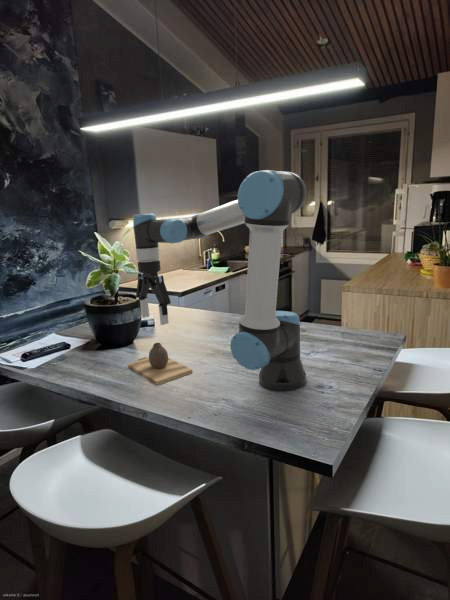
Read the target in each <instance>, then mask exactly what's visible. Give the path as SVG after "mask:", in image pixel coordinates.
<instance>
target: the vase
mask: <svg viewBox="0 0 450 600" xmlns="http://www.w3.org/2000/svg"><path fill="white" fill-rule="evenodd" d="M148 358H149V362H150V364H151V366H152V367H153V368H155V369H161V368H164V367H165V366H166V365H167V362H168V358H169V354H168V351H167V350H166V349H165V347H164V346H163V345H162V343H160V342H155V343H154V344H153V345H152V348H151V349H150V351H149V353H148Z"/></svg>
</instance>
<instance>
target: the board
mask: <svg viewBox="0 0 450 600" xmlns="http://www.w3.org/2000/svg"><path fill="white" fill-rule="evenodd" d="M127 368H129V369H130V370H132V371H134V372H136V374H138V375H140V376H142V377H143V378H145V379H146V380H149V381H150V382H152V383H153V384H155V385H156V386H160V385H163V384H164V383H168V382H171V381H173V380H175V379H179V378H181V377H184V376H188V375H191V374H193V369H192V368H190V367H189V366H188V367H187V366H186V365H183V364H182V363H179V362H178V361H175V360H174V359H172V358H170V357H168V362H167V365H166V366H165V367H164V368H161V369H155V368H153V367H152V366H151V364H150V362H149V357H145V356H144V357H142V358H138V360H137V361H134V362H130V363H128V364H127Z"/></svg>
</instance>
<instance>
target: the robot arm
mask: <svg viewBox="0 0 450 600" xmlns="http://www.w3.org/2000/svg"><path fill="white" fill-rule="evenodd" d="M306 197H307V186H306V184H305V182H304V180H303V179H302V178H301V177H300V176H299V175H298V174H297V173H294V172H291V171H278V170H269V169H266V170H258V171H253V172H251V173H250V174H248V175H247V176H246V177H245V178H244V179H243V181H242V182H241V184H240V186H239V188H238V192H237V199H236V200H232V201H229V202H227V203H224V204H222V205H219V206H217V207H214V208H211V209H208V210H206V211H203V212H200V213H198V214H195V215H192V216H186V217H175V218H162V219H157V218H156V217H157V216H156V215H155V213H141V214H134V215H133V218H132V220H133V221H132V222H133V227H132V228H133V233H134V234H133V235H134V241H135V252H136V259H137V260H136V261H138V262H137V270H138V271H137V272H138V273H137V285H136V286H137V287H136V293H135V297H136V298H138V299H139V305H140V313H141V319H145V318H148V317H150V311H149V309H150V308H149V299H148V294H149V291H150V290H152V291H153V293H154V295H155V297H156V299H157V302H158V303H159V304H158V312H159V321H160V325H161V326H163V325H168V324H170V323H169V322H170V321H169V314H168V313H169V312H168V305H169V304H171V298H170V296H169V292H168V290H167V287H166V284H165V280H164V276H163V275H159V274H158V272H160V271H161V270H162V269H161V268H162V267H161V261H160V260H159V259H160V249H159V244H163V243H164V244H177V243H182V242H185V241H189V240H198V239H202V238H206V237H207V236H208V235H210V234H211V235H212V234H214V233H217V232H221V231H224V230H226V229H227V230H228V229H231V228H234V227H237V226H240V225H243V224H244V225H245V226H246V227H247V228H248V229H249V238H248V241H249V242H248V259H247V274H246V275H247V276H246V294H245V307H244V314H243V315H242V316H240V318H239V320H238V332H236V333H235V334H234V335H233V337H232V338H231V341H230V344H229V345H230V352H231V355H232V357H233V359H235V360H236V362H237V364H238V365H240V366H241V367H242V368H245V369H247V370H250V371H257V370H260V371H259V372H258V382H259V385H261V386H262V387H264V388H266V389H268V390H272V391H279V392H281V391H283V392H284V391H294V390H298V389H300V388H302V387H304V386H305V385H306V384H307V375H306V371H305V370H304V369H305V368H304V366H303V362H302V360H301V323H300V315H298V314H297V313H296V312H293V311H286V310H277V301H278V300H277V298H278V287H279V276H280V273H279V272H280V264H281V252H282V242H283V241H282V239H283V232H284V230H285V229H287V228H288V227H289V225H290V216H291V215H292V214H295V213H296V212H298V211H300V209H301V208H302V207H303V205H304V204H305V201H306V199H307V198H306Z"/></svg>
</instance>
